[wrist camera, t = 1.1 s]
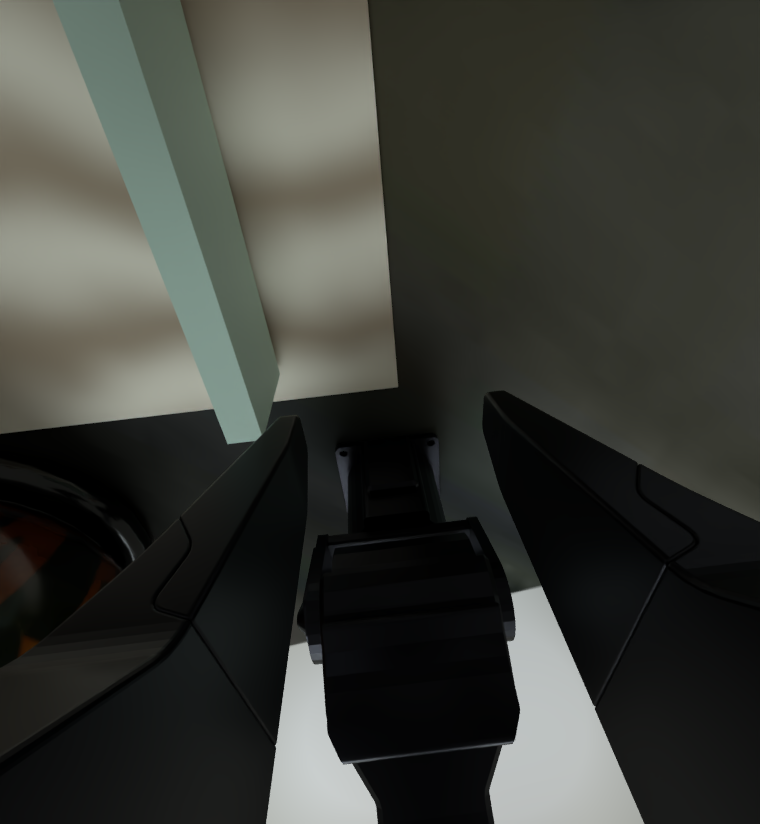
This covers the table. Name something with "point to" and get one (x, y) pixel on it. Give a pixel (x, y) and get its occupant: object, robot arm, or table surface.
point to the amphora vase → (55, 548)
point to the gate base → (253, 197)
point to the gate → (179, 193)
